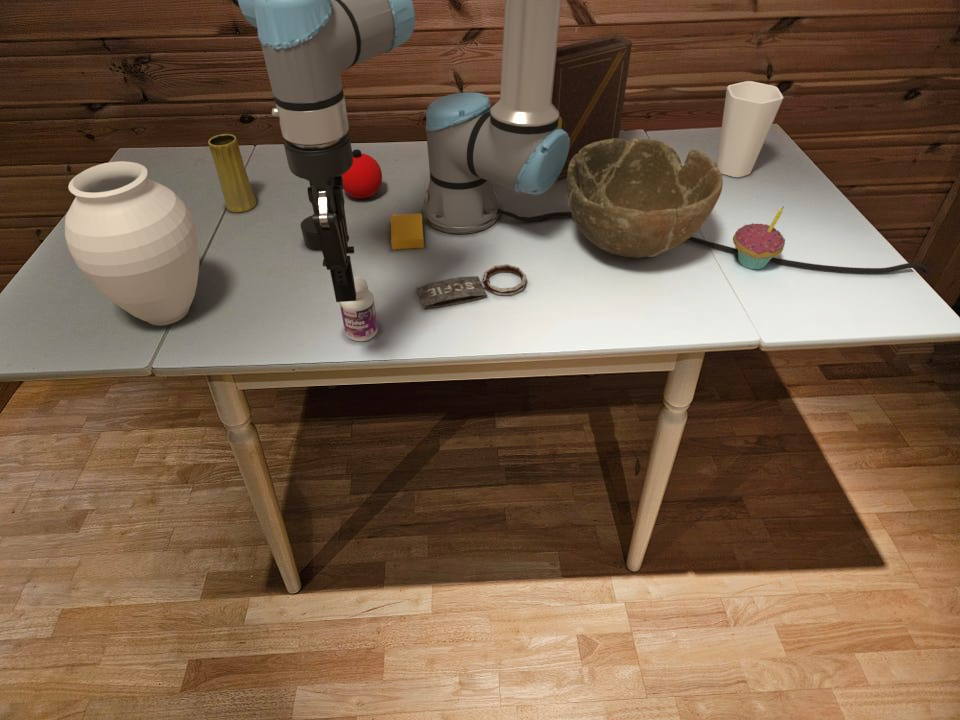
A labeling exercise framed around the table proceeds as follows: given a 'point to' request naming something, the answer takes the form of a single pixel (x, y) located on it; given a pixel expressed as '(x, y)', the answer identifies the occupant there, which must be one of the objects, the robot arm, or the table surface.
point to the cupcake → (758, 243)
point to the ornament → (362, 176)
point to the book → (590, 90)
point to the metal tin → (310, 234)
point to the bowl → (640, 195)
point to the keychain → (466, 288)
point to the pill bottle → (360, 313)
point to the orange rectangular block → (407, 231)
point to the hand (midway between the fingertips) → (346, 298)
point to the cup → (746, 125)
